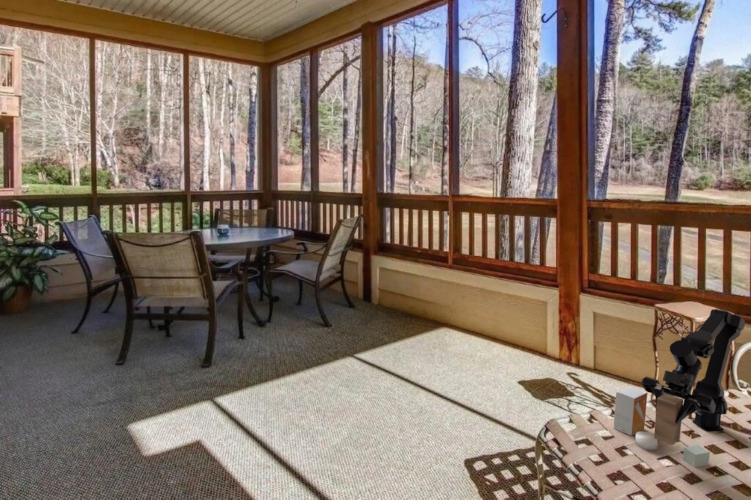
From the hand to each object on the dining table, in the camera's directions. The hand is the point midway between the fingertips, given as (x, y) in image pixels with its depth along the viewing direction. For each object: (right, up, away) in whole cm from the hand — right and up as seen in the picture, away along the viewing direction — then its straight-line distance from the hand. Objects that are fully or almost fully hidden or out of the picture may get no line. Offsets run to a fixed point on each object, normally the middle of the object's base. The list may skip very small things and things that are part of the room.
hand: (666, 419), depth 142 cm
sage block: (+9, -13, +2) cm, 16 cm away
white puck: (0, -12, +11) cm, 16 cm away
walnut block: (+1, -6, +2) cm, 7 cm away
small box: (0, -10, +20) cm, 23 cm away
